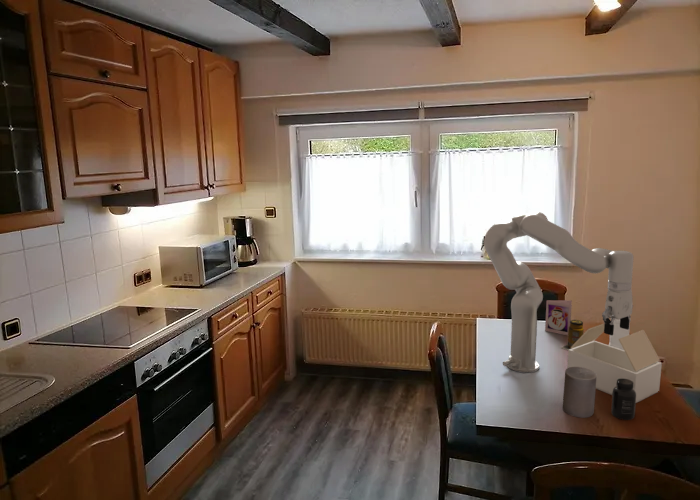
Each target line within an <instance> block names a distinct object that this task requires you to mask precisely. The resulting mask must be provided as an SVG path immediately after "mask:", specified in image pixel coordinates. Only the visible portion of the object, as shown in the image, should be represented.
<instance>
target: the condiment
mask: <svg viewBox="0 0 700 500" xmlns="http://www.w3.org/2000/svg"><path fill="white" fill-rule="evenodd" d="M584 330H585V329H584V321H582V320H581V319H580V320H579V319H571V321H570V326H569V329H568V335H567V344H565V345H562V347H561V349H563V350H565V351H566V350H567V351H568V350H569V349H571V347H572V345H573V344H574V343H575V342H576V341H577V340H578V339H579V338H580V337H581V336H582V335H583V334H584V333H585V331H584ZM574 348H575V347H574Z"/></svg>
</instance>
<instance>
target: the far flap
mask: <svg viewBox="0 0 700 500" xmlns="http://www.w3.org/2000/svg"><path fill="white" fill-rule="evenodd" d="M604 324H605V323H604V322H603V323H602V324H599V325H596V326H593V327H590V328H589V327H588V329H587V330H585V331H584V332H583V335H582V336H581V337H580V338H579V339H578V340H577V341H576V342H575V343H574V344H573V345H572V347H571V349H572V348H574V347H577V346H580V345H583V344H586V343H589V342H591V341H597V339H598V338H599V337H601V335H602V334H603V333H604Z"/></svg>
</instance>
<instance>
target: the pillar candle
mask: <svg viewBox="0 0 700 500" xmlns="http://www.w3.org/2000/svg"><path fill="white" fill-rule="evenodd" d="M596 378H597V375H596V373H595V372H594V371H592V370H590V369H587V368H584V367H569V368H566V369H565V370H564V383H563V384H564V386H563V395H562V397H563V398H562V410H563V411H564V412H565V413H566V414H567V415H569V416H572V417H576V418H583V419H584V418H585V419H586V418H590V417H592V416H593V415H594V412H595V400H596V390H597V389H596Z"/></svg>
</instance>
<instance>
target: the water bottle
mask: <svg viewBox="0 0 700 500" xmlns="http://www.w3.org/2000/svg"><path fill="white" fill-rule="evenodd" d="M612 316H613V315H612ZM611 319H612V318H610V320H611ZM630 323H631V321H630V322H629V329H628V330H627V329H623V328H620V319H616V318H615V320H614V322H613V325H614V331H613V335H609V343H608V345H609V346H612V347H615V348H618V349H621V350H624V349H623V347H622V345H621V343H620V341H619V339H620V338H622V337H625V336H628V335H630V330H631V329H630V327H631V326H630Z"/></svg>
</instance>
